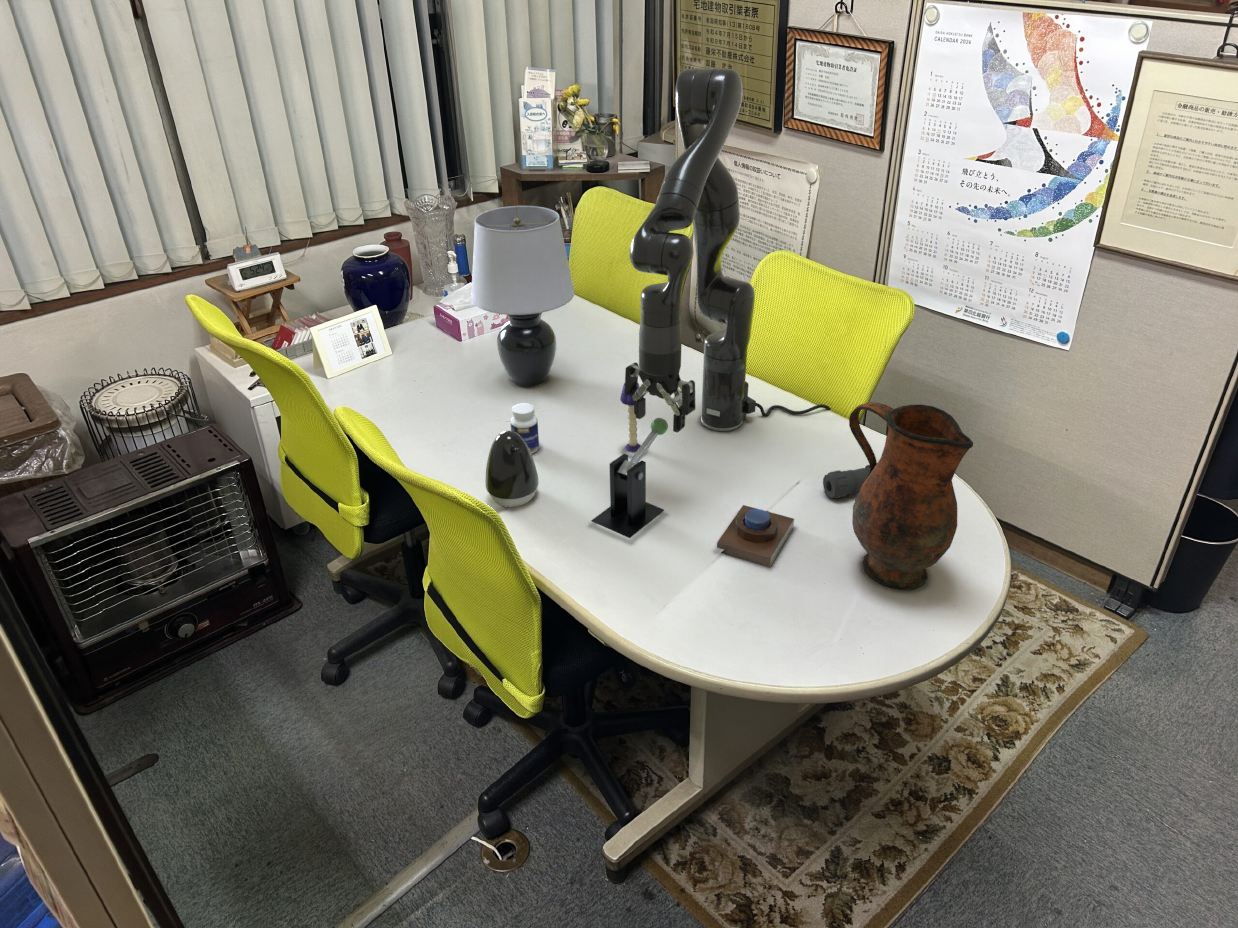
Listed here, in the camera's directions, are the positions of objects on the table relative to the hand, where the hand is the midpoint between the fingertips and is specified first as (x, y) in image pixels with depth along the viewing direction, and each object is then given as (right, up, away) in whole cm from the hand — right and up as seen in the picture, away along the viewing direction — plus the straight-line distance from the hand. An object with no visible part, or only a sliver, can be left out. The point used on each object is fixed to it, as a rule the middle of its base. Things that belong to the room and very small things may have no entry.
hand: (658, 423), depth 165 cm
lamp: (-29, +13, +53) cm, 62 cm away
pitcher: (+39, -25, -10) cm, 47 cm away
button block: (+17, -21, -4) cm, 28 cm away
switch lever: (-2, -5, 0) cm, 6 cm away
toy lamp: (-5, -5, +23) cm, 24 cm away
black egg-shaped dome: (-28, -15, +8) cm, 33 cm away
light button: (+17, -18, -6) cm, 26 cm away
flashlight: (+40, -13, +10) cm, 44 cm away
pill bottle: (-27, -4, +25) cm, 37 cm away
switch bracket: (-6, -18, +2) cm, 19 cm away
